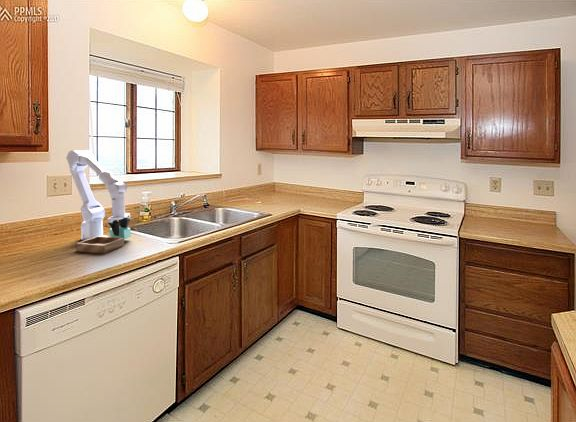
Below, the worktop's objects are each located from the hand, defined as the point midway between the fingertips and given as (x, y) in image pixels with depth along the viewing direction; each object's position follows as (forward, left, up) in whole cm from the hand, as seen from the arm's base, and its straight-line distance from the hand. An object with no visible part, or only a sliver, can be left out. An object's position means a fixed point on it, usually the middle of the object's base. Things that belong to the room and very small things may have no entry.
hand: (120, 234), depth 188 cm
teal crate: (0, 0, -2) cm, 2 cm away
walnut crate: (0, -14, -3) cm, 14 cm away
